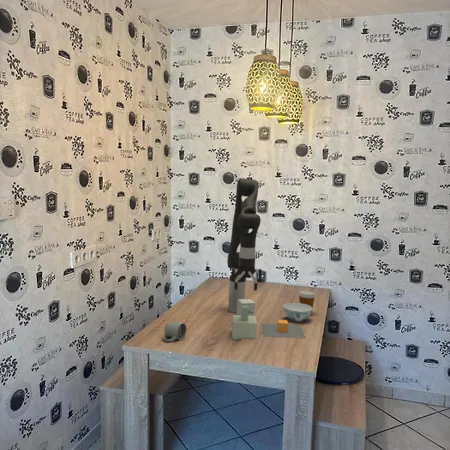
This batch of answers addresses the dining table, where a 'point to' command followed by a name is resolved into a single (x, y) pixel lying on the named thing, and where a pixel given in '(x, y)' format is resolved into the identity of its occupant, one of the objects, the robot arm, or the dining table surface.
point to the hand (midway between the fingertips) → (245, 290)
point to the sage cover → (244, 325)
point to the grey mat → (272, 331)
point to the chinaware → (297, 311)
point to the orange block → (282, 326)
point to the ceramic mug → (174, 331)
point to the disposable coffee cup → (306, 298)
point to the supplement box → (246, 302)
